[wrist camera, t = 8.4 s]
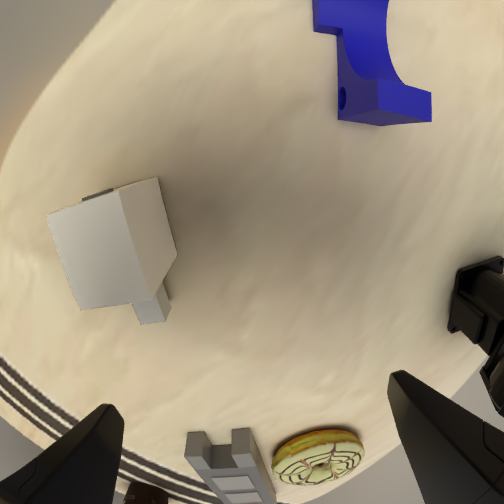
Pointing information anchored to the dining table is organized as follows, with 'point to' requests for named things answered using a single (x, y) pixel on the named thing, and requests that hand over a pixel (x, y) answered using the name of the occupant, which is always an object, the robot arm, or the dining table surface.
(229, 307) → the dining table surface
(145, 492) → the coffee mug
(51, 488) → the robot arm
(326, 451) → the decorated donut
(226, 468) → the power strip
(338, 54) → the cable clip
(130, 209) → the charger
